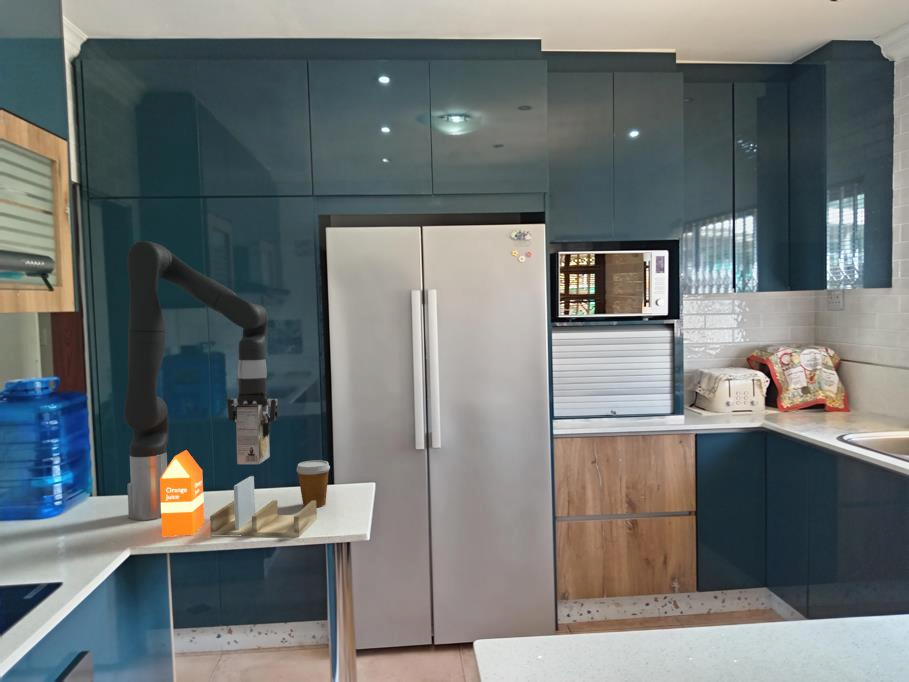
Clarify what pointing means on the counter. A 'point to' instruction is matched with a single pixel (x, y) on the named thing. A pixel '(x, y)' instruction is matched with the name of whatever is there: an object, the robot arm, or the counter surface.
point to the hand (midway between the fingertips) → (253, 436)
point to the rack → (264, 521)
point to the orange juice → (182, 496)
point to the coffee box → (251, 434)
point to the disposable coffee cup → (313, 481)
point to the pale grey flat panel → (244, 502)
